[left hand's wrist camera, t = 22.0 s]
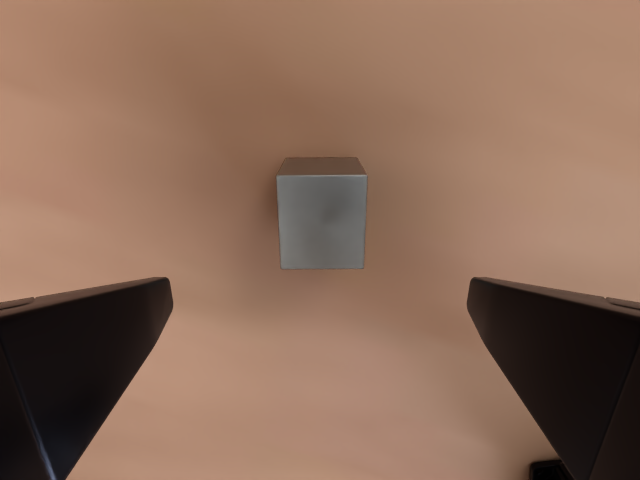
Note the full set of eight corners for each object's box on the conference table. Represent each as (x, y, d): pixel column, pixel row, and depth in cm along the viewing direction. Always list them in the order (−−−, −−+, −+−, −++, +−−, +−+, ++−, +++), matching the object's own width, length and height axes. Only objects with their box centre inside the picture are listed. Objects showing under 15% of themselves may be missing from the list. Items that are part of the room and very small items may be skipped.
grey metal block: (285, 157, 21) (275, 174, 17) (357, 157, 21) (367, 174, 17) (288, 234, 23) (280, 269, 18) (355, 234, 23) (364, 269, 18)
